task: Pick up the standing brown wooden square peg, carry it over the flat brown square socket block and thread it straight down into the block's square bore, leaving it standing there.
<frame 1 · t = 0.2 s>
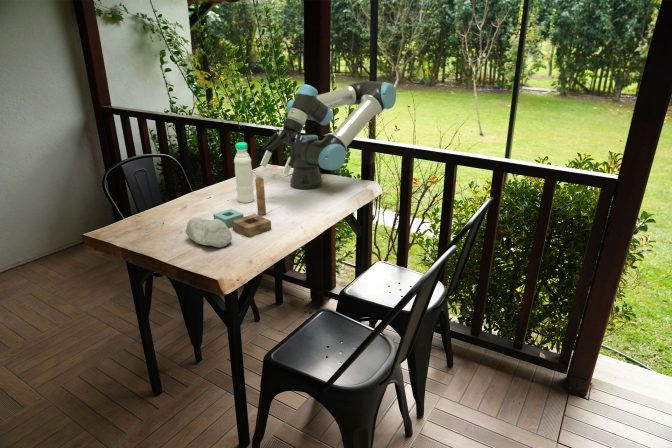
hand: (273, 169, 187), 16 cm above the table, fingers open, 13 cm apart
brown wooden square peg: (262, 214, 186), on the table
brown square socket block: (252, 229, 171), on the table
decorative stone: (208, 243, 162), on the table
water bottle: (246, 201, 201), on the table
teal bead: (229, 222, 178), on the table
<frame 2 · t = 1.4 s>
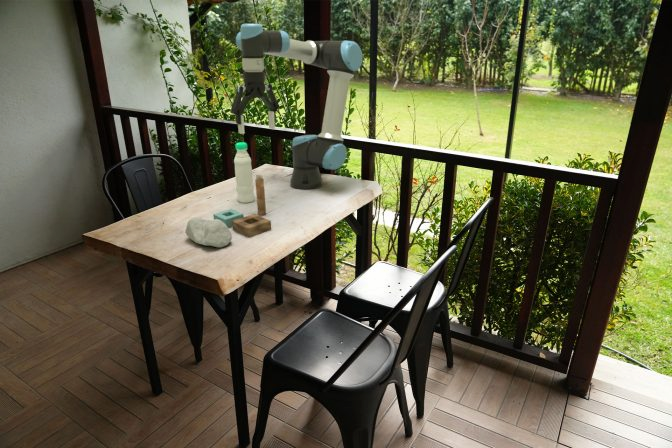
hand: (257, 131, 174), 33 cm above the table, fingers open, 13 cm apart
nothing on the table moved.
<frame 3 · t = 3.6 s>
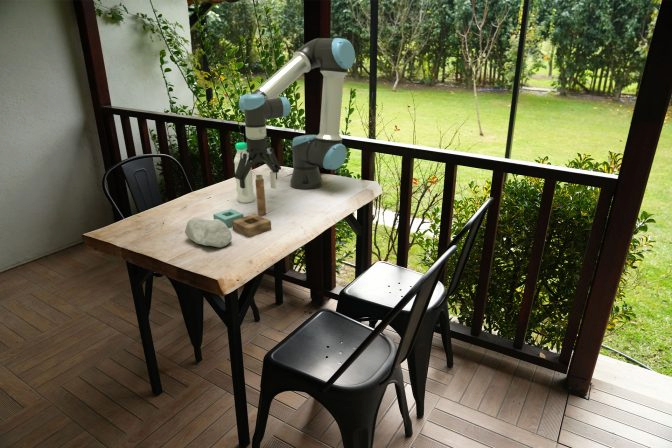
hand: (259, 191, 182), 9 cm above the table, fingers open, 13 cm apart
nothing on the table moved.
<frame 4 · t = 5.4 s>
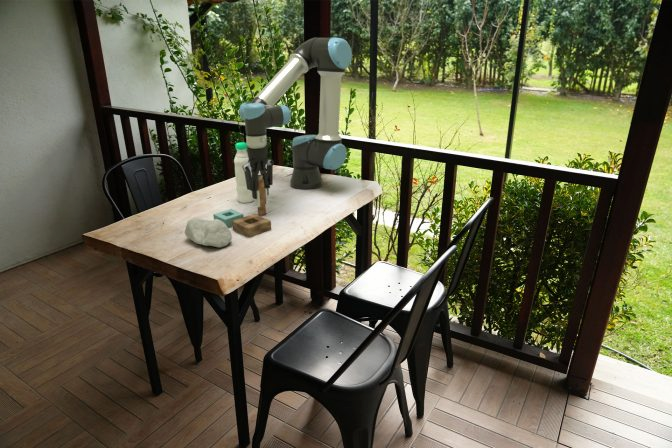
hand: (261, 204, 184), 4 cm above the table, fingers closed on brown wooden square peg, 3 cm apart
brown wooden square peg: (262, 214, 186), on the table, touching gripper
everything else where it was.
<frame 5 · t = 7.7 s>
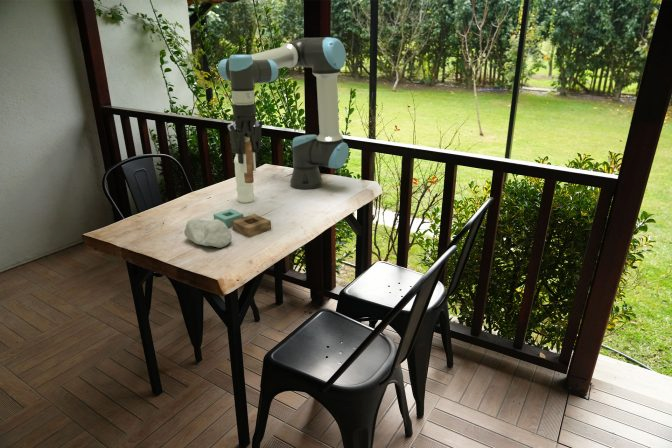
hand: (248, 171, 166), 21 cm above the table, fingers closed on brown wooden square peg, 3 cm apart
brown wooden square peg: (249, 181, 167), point 17 cm above the table, touching gripper
everything else where it was.
when the fingers open (6 cm above the table, at t = 10.4 s): brown wooden square peg drops 2 cm, resting in brown square socket block.
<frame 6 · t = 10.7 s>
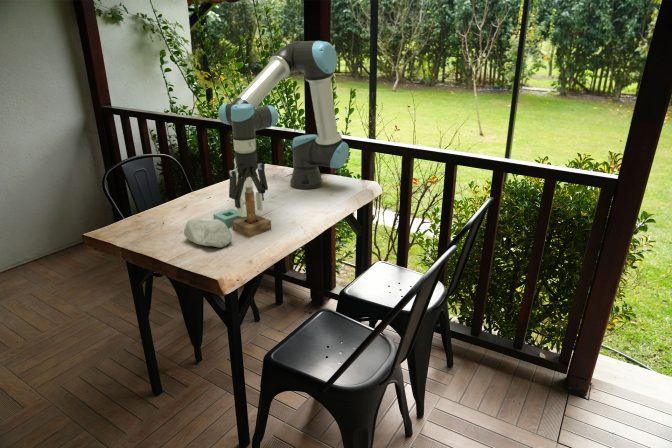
hand: (250, 212, 169), 7 cm above the table, fingers open, 8 cm apart
brown wooden square peg: (252, 229, 171), resting in brown square socket block
everything else where it was.
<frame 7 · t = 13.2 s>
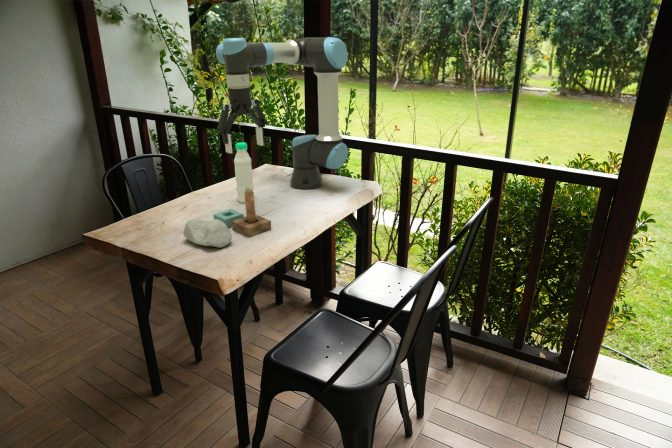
hand: (245, 148, 166), 29 cm above the table, fingers open, 13 cm apart
nothing on the table moved.
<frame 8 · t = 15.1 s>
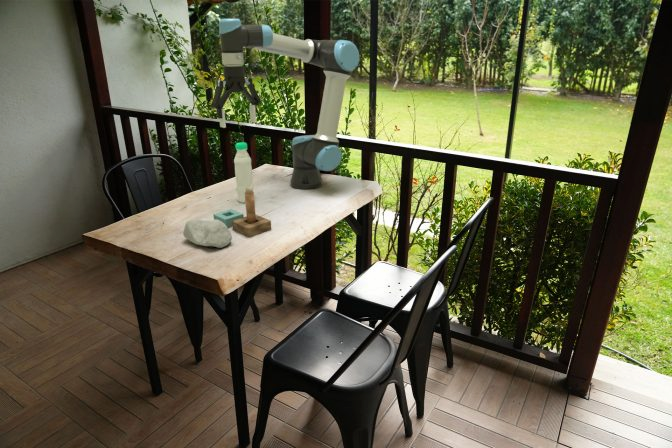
hand: (238, 124, 176), 35 cm above the table, fingers open, 13 cm apart
nothing on the table moved.
at the end: brown wooden square peg 0.1 cm off-centre on the brown square socket block, point 0.0 cm above the brown square socket block's base; brown wooden square peg tilted 0°; the gripper is holding nothing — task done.
